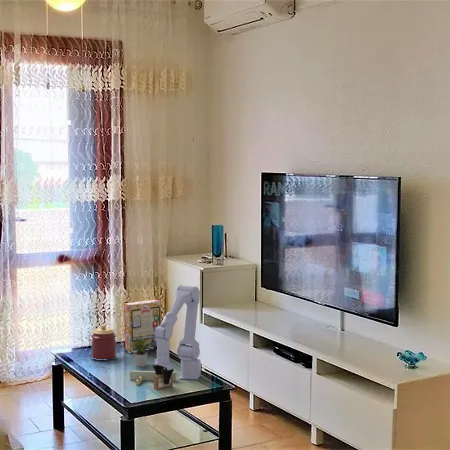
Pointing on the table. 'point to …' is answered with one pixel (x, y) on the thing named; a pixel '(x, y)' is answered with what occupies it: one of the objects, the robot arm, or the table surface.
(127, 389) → the table surface
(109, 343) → the canister
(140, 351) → the house plant
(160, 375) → the frame
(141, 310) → the board game box
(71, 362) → the table surface
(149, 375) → the ledge
